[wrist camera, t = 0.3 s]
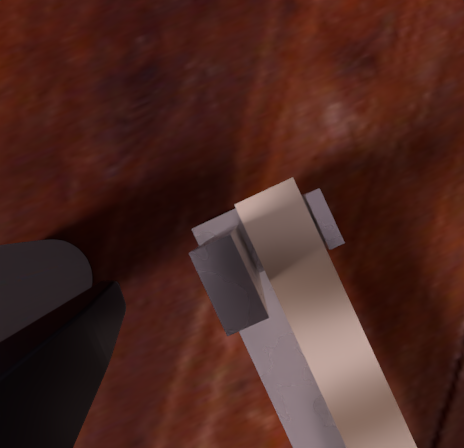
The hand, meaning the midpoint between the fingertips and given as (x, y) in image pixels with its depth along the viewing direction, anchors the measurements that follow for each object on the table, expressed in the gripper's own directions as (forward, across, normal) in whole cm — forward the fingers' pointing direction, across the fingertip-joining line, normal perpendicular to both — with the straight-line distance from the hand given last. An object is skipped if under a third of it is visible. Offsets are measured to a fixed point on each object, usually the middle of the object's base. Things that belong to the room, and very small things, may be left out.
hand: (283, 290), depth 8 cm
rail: (+5, -4, +12) cm, 13 cm away
